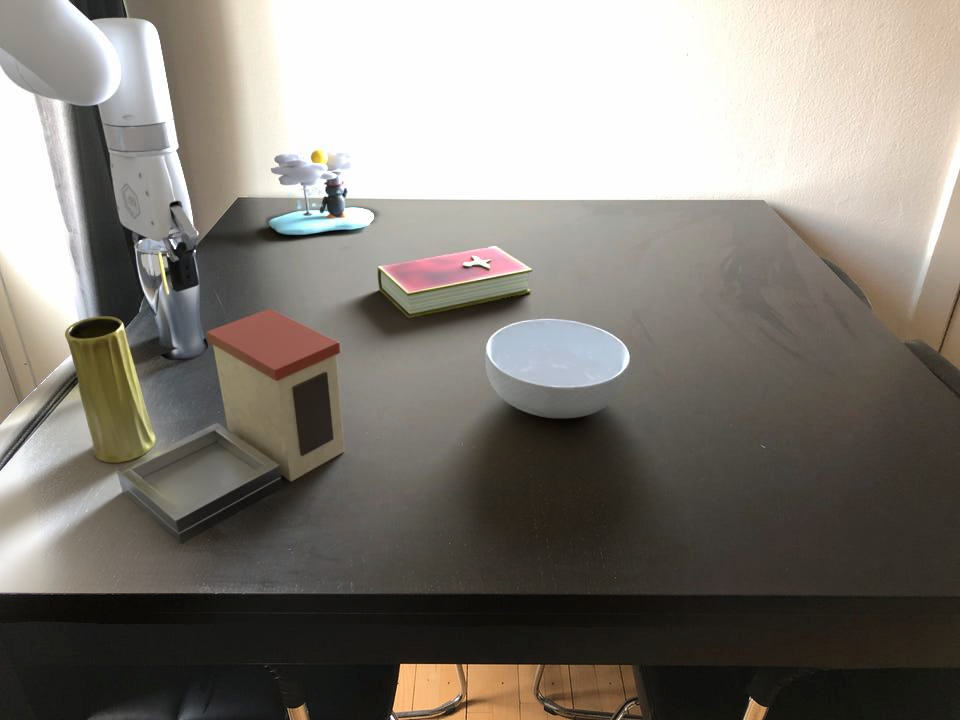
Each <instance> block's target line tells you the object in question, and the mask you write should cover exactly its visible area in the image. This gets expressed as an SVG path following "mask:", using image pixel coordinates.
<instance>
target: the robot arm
mask: <svg viewBox="0 0 960 720" xmlns="http://www.w3.org/2000/svg"><path fill="white" fill-rule="evenodd" d="M0 68H1V70H2V71H3V73H4V74H5V75H6V77H8V79H9V80H10V81H11V82H12V83H14V84H15V85H16V86H17V87H19V88H21V89H22V90H24V91H26V92H29V93H31V94H34V95H36V96H40V97H44V98H48V99H52V100H56V101H59V102H63V103H67V104H70V105H74V106H80V107H90V106H95V105H97V106H98V111H99V115H100V119H101V124H102V129H103V134H104V138H105V142H106V146H107V151H108V153H109V162H110V163H109V164H110V172H111V180H112V186H113V193H114V198H115V203H116V210H117V214H118V218H119V222H120V224H122V226H123V227H125V228H126V229H127V230H130V231H132V235H131V237H132V241H133V243H134V244H135V243H136V242H138V241H139V240H142V239H144V238H149V239H151V240H154V241H161V240H163V242H164V245H165V247H166V249H167V252H168V254H169V256H170V259H171V260H169V261H167V262H168V267H169V272H170V277H171V282H172V286H173V290H175V291H176V292H179V291H182V290H186V289H189V288H192V287H195V286H197V285H198V284H199V280H200V279H199V280H198V274H197V269H196V263H197V262H196V263H195V259H196V255H197V253H196V249H197V242H198V240H199V232H198V230H197V229H196V227H195V226H194V220H193V212H192V206H191V201H190V196H189V193H188V189H187V184H186V180H185V177H184V172H183V169H182V166H181V161H180V159H179V155H178V153H177V149H179V143H178V136H177V130H176V126H175V120H174V114H173V109H172V104H171V103H172V102H171V98H170V92H169V87H168V81H167V76H166V70H165V63H164V57H163V53H162V48H161V42H160V37H159V34H158V30H157V28H156V27H155V25H154V24H153V23H152V22H150V21H148V20H146V19H143V18H135V17H106V18H104V17H103V18H96V19H92V20H90V19H89V18H88V17H87V16H86V15H85V14H83V12H81V10H79V9H78V8H77V7H76V6H74V4H72V3H71V1H70V0H0ZM172 230H177V232H174V233H173V232H172V233H170V231H172ZM178 238H181V240H182V241H181V242H179V243H178V245H177V247H176V249H175V247H174V244H173V242H172V240H175V239H178ZM194 256H195V258H194Z"/></svg>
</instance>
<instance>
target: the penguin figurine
mask: <svg viewBox="0 0 960 720" xmlns="http://www.w3.org/2000/svg"><path fill="white" fill-rule="evenodd" d="M353 158H354V156H353V153H351V152H349V151H329V152H326V151H324V150H322V149H316V150H314V151H313V152H312V153H311V155H310V161H311V163H309V161H308V160H306V159H305V157H303V158H302V156H301V151H300V154H299V153H283V154H282V153H281V154H277V155H275V157H274V158H273V160H274V162H275V163H276V164H278V166H274V167H271V168H270V171H271V173H272V174H274V175H278V176H279V177H278V181H279V184H280V185H282V186H296V185H299V184H300V186H302V187H303V188H301V189H300V191H303V193H302V194H303V195H304V202H305V203H304V206H305V210H302V208H303V203H302V202H303V200H302V201H301V200H300V199H298V200H297V205H298V206H297V207H296V209H297V210H299V211H293V212H289V213H286V214H284V215H280V216H277V217H274V218H271V219H270V220H269V221H268V225H269V226H270V227H271V228H272V229H273V230H274V231H276V232H277V233H279V234H282V235H289V236H290V235H291V236H303V235H312V234H318V233H324V232H329V231H338V230H339V231H340V230H342V231H343V230H346V231H347V230H356V229H361V228H364V227H367V226H369V225H370V223H371V222H372V221H373V220H374V218H375V216H374V213H373V212H371V211H370V210H369V209H365V208H362V207H346V200H347V195H348V192H349V189H348V188H346V187H344V186H343V185H344V184H345V182H344V181H342V173H341V172H340V171H338V170H343V171H345V170H352V169H355V162H354V161H353V160H352V159H353ZM320 179H321V180H326V182H324V183H323V184H324V185H325V188H324V192H325V193H326V195H324V196H323V197H322V201H321V203H318V208H319V210H316V209H315V210H314V209H313V210H312V209H311V210H310V208H309V207H310V206H312V207H313V208H315V207H317V203H315V202H313V203H311V205H310V203H309V201H310V198H308V196H311V195H313V193H316V192H317V194H319V195H320V194H322V191H321V190H320V189H318V191H317V188H315V186H314V185H317V184H318V183H319V181H320ZM310 186H313V193H311V190H310V188H309V189H308V188H307V187H310ZM287 196H288V197H289V199H291V197H293V194H292V193H289V194H287ZM326 210H327V211H326Z"/></svg>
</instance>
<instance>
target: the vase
mask: <svg viewBox="0 0 960 720" xmlns="http://www.w3.org/2000/svg"><path fill="white" fill-rule="evenodd" d="M64 337H65V339H66V341H67V344H68V347H69V350H70V351H69V352H70V354H71V355H70V356H71V358H72V362H73V366H74V370H75V373H76V377H77V381H78V387H79V394H80V398H81V403H82V408H83V410H84V413H85V414H84V415H85V418H86V419H85V420H86V422H87V427H88V430H89V433H90V437H91V441H92V448H93V452H92V453H93V455H94V457H95V458H96V459H98V460H99V461H101V462H104V463H109V464H110V463H111V464H119V463H126V462H130V461H134V460H137V459H138V458H141V457H142V456H144V455H146V454H147V453H148V452H149V451H151V450H152V448H153V447H154V446H155V443H156V435H155V433H154V430H153V427H152V423H151V420H150V417H149V414H148V410H147V407H146V403H145V399H144V396H143V393H142V389H141V386H140V381H139V378H138V375H137V371H136V367H135V364H134V360H133V357H132V352H131V349H130V345H129V342H128V338H127V334H126V330H125V325H124V323H123V322H122V320H121V319H120V318H117V317H114V316H107V315H106V316H102V315H101V316H93V317H87V318H84V319H82V320H78V321H76V322H74V323H72V324H71V325H69V326H68V327H67V329H65V331H64Z"/></svg>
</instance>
